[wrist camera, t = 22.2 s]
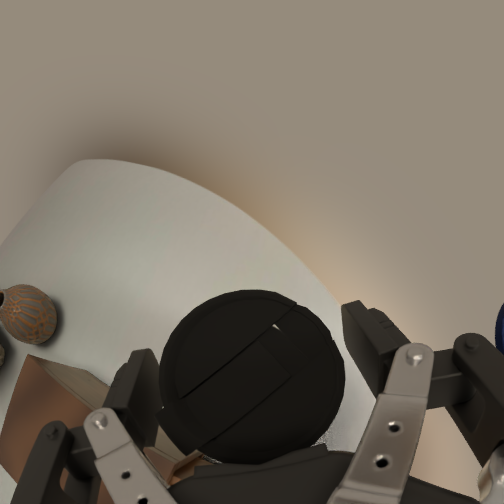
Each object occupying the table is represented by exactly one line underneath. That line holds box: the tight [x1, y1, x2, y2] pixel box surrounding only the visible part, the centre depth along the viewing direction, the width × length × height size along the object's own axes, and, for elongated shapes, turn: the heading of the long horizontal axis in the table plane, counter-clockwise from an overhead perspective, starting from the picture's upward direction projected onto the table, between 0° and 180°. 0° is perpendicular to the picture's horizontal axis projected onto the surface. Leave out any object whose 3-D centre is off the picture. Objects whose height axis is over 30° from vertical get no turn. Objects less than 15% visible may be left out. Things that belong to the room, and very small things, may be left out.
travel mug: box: [154, 290, 345, 465], centre depth 17 cm, size 6×7×20 cm
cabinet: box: [0, 354, 205, 504], centre depth 20 cm, size 16×13×10 cm
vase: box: [0, 284, 57, 344], centre depth 27 cm, size 7×7×9 cm
